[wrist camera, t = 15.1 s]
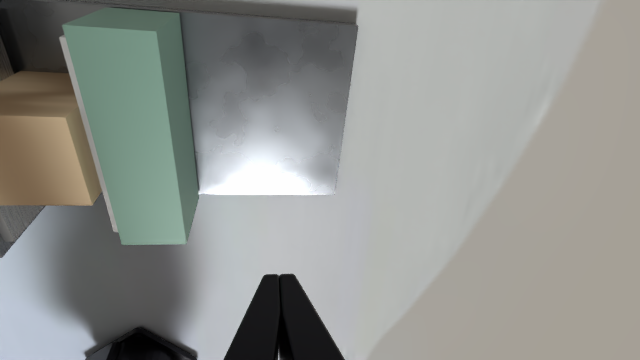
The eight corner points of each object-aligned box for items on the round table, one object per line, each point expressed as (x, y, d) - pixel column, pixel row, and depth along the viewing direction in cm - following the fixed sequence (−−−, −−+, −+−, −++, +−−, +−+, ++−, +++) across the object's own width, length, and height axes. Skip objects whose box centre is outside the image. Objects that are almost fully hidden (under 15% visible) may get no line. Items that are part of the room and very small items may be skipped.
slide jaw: (179, 13, 16) (156, 31, 13) (198, 197, 21) (186, 244, 18) (95, 6, 15) (49, 23, 12) (137, 197, 21) (113, 245, 17)
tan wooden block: (113, 75, 17) (65, 117, 13) (129, 149, 19) (92, 205, 15) (20, 70, 17) (-61, 113, 13) (47, 147, 19) (-15, 205, 15)
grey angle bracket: (355, 23, 18) (386, 51, 13) (333, 189, 23) (349, 251, 19) (-175, -19, 15) (-382, -1, 10) (-59, 186, 20) (-158, 260, 15)
